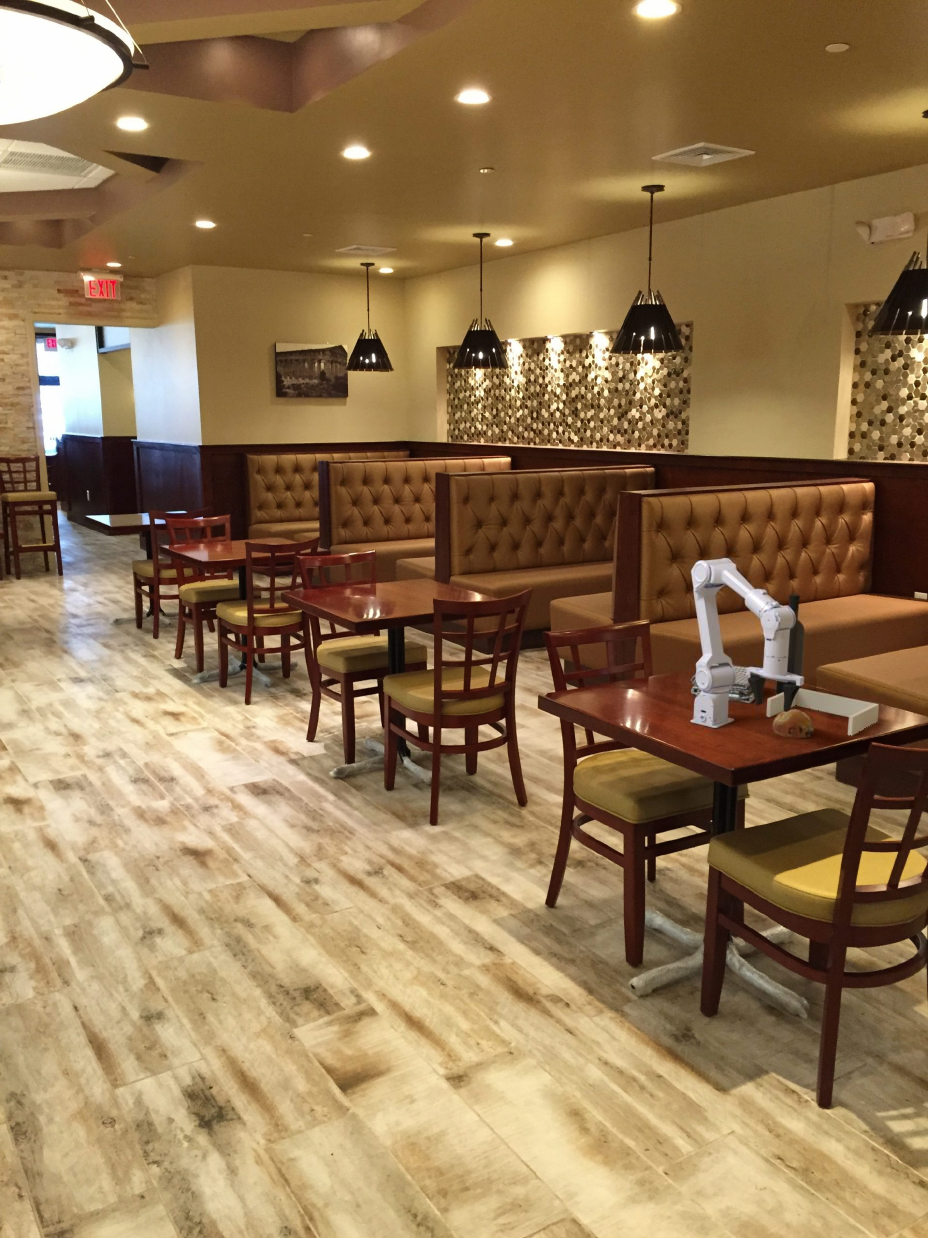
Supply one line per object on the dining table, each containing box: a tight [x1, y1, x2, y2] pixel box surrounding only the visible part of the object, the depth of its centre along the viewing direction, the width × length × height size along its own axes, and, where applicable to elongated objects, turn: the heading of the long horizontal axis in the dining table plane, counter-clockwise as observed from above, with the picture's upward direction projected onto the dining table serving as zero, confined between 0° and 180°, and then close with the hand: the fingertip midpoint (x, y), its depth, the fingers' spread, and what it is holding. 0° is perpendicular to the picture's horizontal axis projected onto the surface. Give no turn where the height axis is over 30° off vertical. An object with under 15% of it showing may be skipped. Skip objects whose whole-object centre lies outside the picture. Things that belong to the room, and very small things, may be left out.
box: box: [766, 687, 880, 737], centre depth 270 cm, size 16×24×5 cm, turn 45°
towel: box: [690, 664, 765, 704], centre depth 294 cm, size 15×18×8 cm
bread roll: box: [772, 709, 815, 739], centre depth 259 cm, size 10×10×8 cm
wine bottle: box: [775, 593, 806, 695], centre depth 291 cm, size 6×6×30 cm
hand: (772, 707), depth 249 cm, fingers open, 7 cm apart
